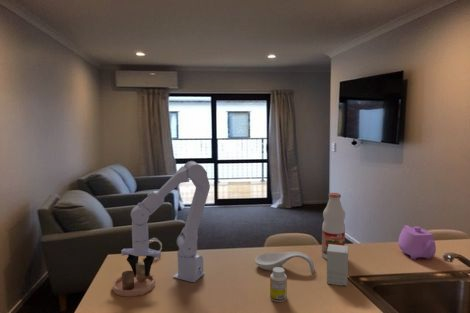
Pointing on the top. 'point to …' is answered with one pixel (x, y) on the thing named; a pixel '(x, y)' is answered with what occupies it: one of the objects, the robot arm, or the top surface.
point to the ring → (156, 241)
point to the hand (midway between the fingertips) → (141, 274)
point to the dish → (139, 286)
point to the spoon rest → (280, 260)
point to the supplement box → (337, 264)
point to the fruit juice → (333, 223)
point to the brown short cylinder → (128, 280)
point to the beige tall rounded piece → (140, 271)
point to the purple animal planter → (417, 242)
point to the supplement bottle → (278, 285)
